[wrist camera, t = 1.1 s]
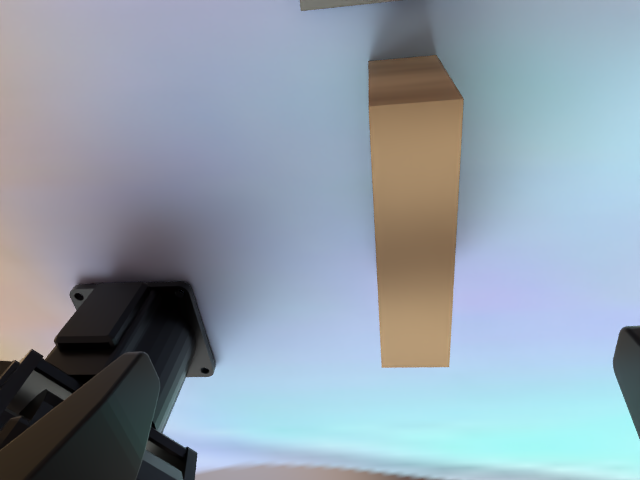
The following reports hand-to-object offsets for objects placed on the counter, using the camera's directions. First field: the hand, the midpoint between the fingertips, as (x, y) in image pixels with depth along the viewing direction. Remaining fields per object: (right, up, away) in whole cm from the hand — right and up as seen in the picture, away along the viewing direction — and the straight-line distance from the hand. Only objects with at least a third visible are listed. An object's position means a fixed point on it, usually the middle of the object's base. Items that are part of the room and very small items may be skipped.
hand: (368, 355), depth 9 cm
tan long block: (+3, +5, +11) cm, 13 cm away
